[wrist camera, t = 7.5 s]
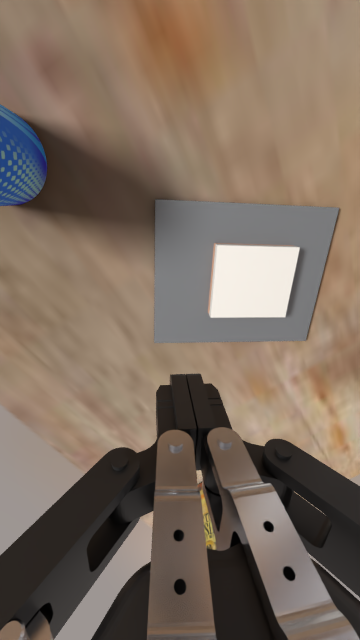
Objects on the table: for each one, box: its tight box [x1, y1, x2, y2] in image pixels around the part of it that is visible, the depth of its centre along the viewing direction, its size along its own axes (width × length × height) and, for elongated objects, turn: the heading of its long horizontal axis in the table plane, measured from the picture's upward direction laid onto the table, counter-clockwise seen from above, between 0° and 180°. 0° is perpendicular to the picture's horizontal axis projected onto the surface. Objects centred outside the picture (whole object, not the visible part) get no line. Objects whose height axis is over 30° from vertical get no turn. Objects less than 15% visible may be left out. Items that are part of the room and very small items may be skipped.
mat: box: [154, 199, 339, 343], centre depth 36 cm, size 18×22×1 cm
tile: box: [208, 243, 300, 318], centre depth 35 cm, size 9×2×10 cm
